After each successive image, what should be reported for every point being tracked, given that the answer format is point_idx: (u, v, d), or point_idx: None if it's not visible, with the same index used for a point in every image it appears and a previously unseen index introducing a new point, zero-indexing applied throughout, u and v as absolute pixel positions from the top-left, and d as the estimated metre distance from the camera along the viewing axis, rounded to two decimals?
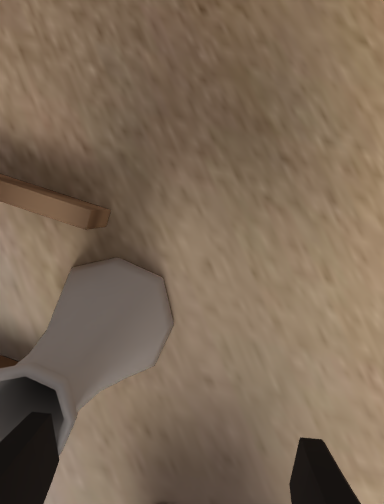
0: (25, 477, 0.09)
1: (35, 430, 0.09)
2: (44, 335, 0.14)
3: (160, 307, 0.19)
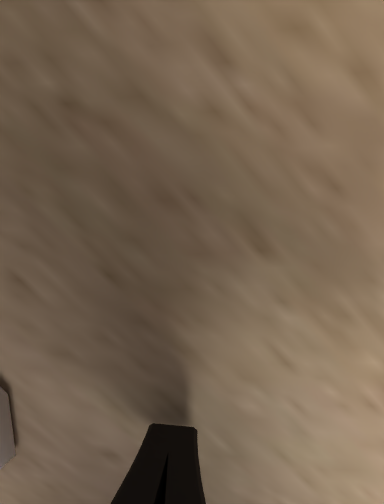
0: (163, 492, 0.08)
1: (167, 443, 0.09)
2: None
3: None
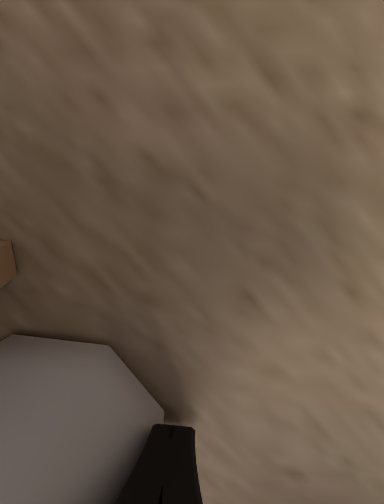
0: None
1: (171, 443, 0.09)
2: None
3: (121, 409, 0.09)
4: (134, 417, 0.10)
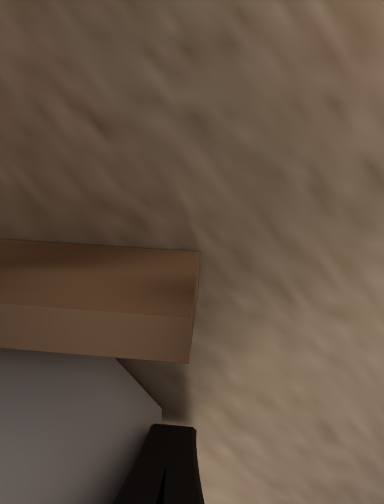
0: None
1: (169, 443, 0.09)
2: None
3: (117, 407, 0.09)
4: (131, 415, 0.10)
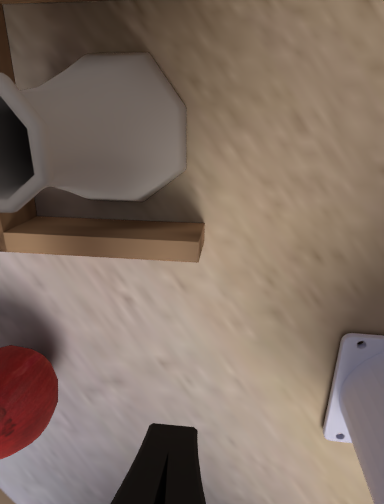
0: (163, 492, 0.08)
1: (167, 443, 0.09)
2: (6, 112, 0.11)
3: (158, 84, 0.15)
4: (167, 93, 0.15)
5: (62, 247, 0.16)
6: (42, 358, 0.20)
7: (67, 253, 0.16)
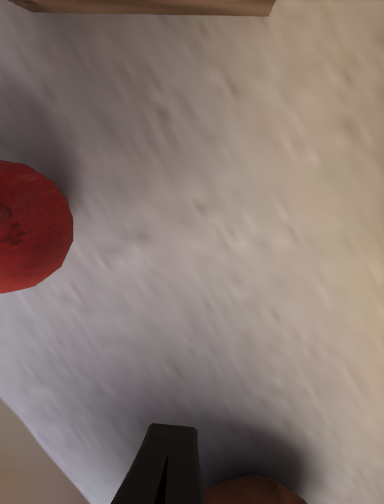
0: (163, 492, 0.08)
1: (167, 443, 0.09)
2: None
3: None
4: None
5: None
6: (54, 184, 0.16)
7: None
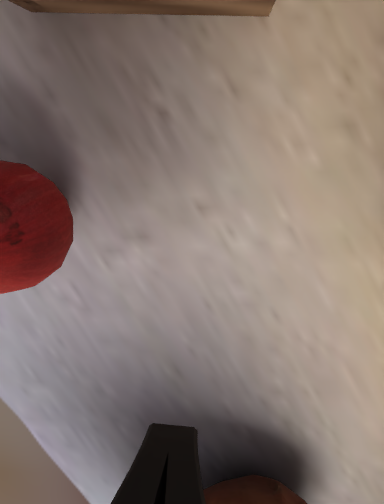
0: (163, 492, 0.08)
1: (167, 443, 0.09)
2: None
3: None
4: None
5: None
6: (54, 184, 0.16)
7: None
